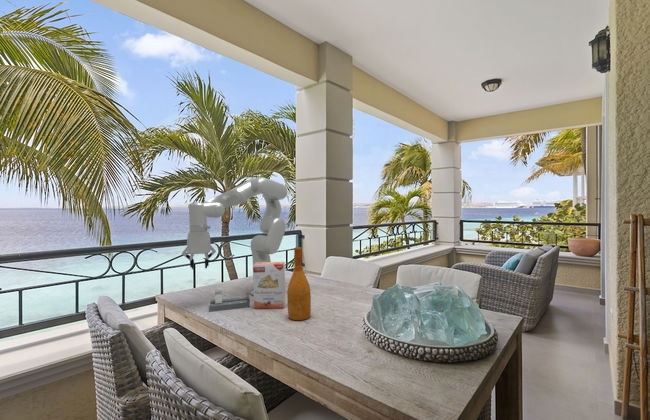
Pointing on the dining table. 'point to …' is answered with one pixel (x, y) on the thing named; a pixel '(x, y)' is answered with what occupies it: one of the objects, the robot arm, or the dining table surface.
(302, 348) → the dining table surface
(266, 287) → the cracker box
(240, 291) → the dining table surface
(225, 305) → the board
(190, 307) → the dining table surface
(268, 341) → the dining table surface
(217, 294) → the block
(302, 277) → the wine bottle
